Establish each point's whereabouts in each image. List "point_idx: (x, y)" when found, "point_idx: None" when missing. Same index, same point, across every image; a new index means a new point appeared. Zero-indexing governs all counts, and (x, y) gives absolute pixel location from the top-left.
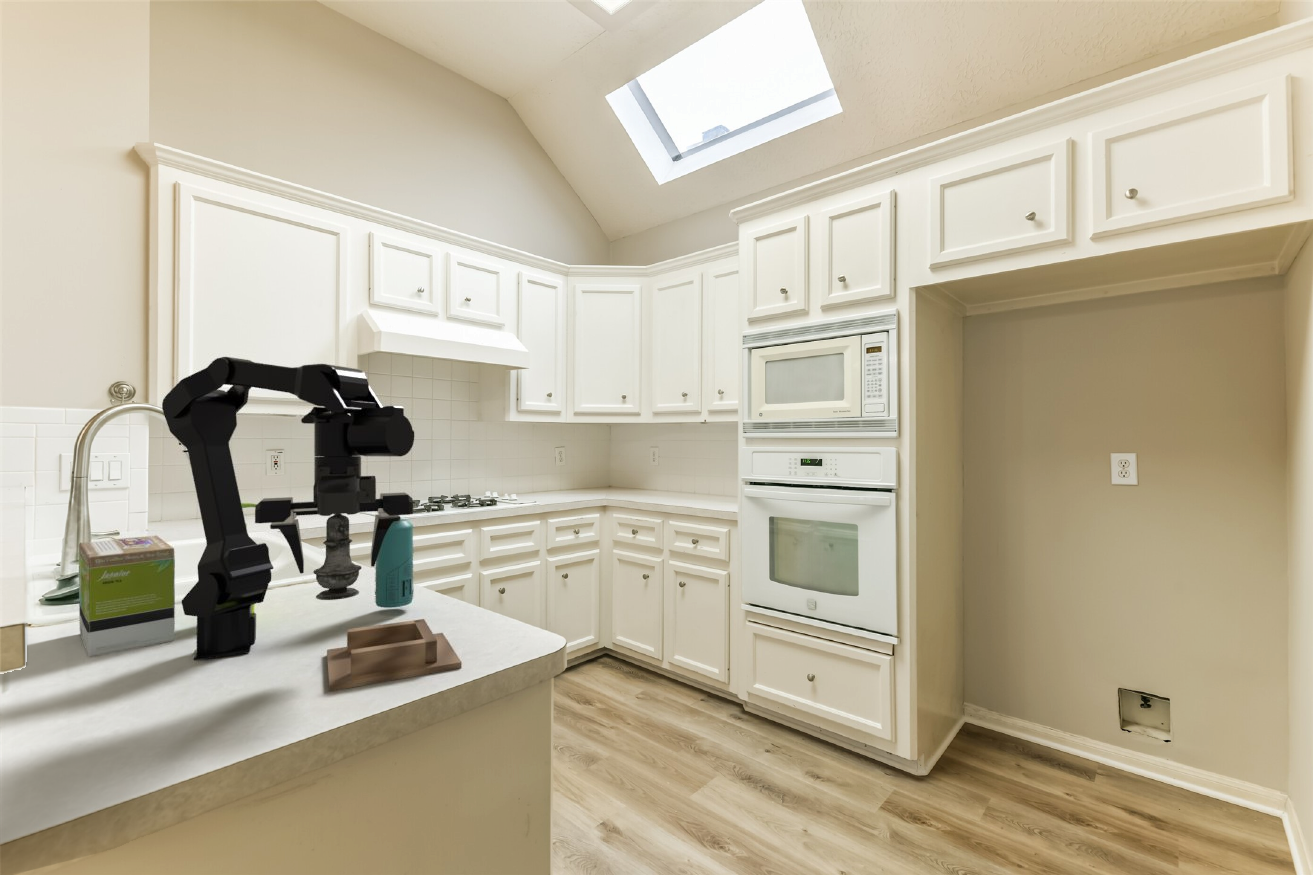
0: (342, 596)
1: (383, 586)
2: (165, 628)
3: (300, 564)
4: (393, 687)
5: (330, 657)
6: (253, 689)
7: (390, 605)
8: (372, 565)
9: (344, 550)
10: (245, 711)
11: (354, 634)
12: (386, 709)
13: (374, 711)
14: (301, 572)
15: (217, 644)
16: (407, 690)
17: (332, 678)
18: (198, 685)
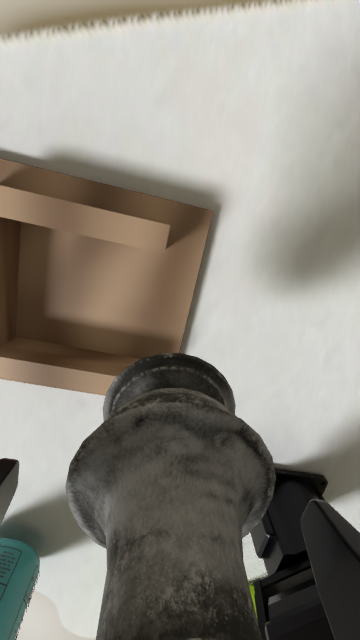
0: (169, 364)
1: (8, 599)
2: None
3: (352, 537)
4: (108, 141)
5: None
6: (299, 310)
7: (16, 544)
8: (11, 461)
9: (150, 578)
10: (336, 218)
11: None
12: (150, 22)
13: (172, 31)
14: (321, 500)
15: (307, 492)
16: (88, 100)
17: (199, 242)
18: (348, 378)
